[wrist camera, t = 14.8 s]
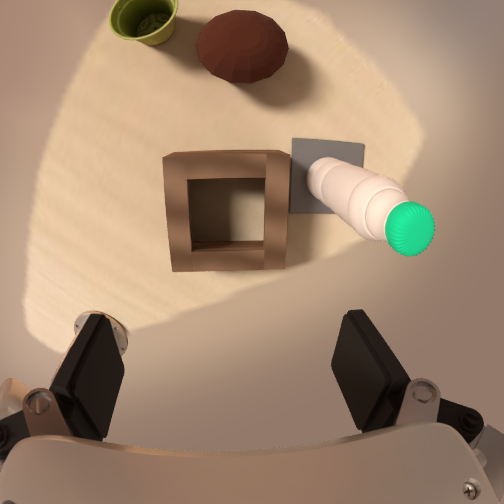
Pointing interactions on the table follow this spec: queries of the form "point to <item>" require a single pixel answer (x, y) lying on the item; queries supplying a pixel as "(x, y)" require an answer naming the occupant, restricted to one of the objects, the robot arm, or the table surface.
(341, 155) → the mat
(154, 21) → the plant pot
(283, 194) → the slot box
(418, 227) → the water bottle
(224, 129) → the table surface
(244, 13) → the muffin
